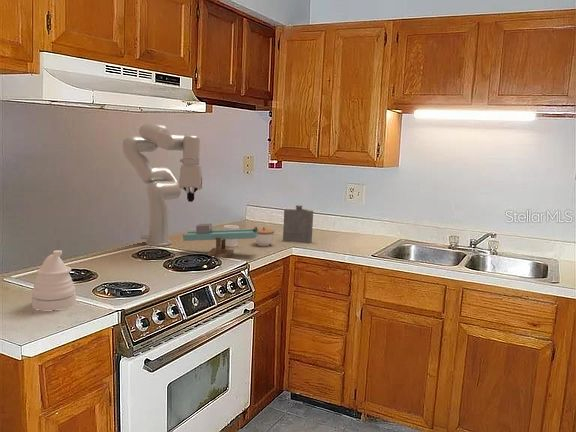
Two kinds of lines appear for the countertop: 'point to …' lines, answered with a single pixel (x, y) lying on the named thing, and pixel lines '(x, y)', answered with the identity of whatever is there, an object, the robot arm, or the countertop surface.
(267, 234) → the lidded jar
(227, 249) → the stand
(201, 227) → the block
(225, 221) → the countertop surface
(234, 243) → the white cup
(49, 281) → the honey pot
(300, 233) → the hip flask
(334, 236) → the countertop surface
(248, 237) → the beam
